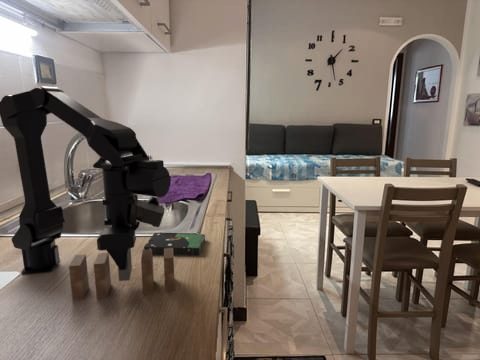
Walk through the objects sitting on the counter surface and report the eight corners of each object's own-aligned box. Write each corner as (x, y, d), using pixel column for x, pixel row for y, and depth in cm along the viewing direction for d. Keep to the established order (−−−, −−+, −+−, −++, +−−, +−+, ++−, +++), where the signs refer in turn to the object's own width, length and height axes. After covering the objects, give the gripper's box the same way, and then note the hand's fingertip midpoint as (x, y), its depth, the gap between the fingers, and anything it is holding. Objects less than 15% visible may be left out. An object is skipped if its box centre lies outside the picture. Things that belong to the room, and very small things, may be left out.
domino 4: (142, 293, 69) (141, 260, 68) (144, 281, 74) (142, 250, 72) (152, 292, 70) (151, 259, 68) (153, 280, 75) (152, 249, 73)
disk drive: (144, 257, 87) (200, 257, 87) (143, 246, 87) (200, 247, 87) (154, 241, 97) (205, 241, 97) (154, 232, 97) (205, 232, 97)
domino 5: (165, 291, 70) (163, 258, 69) (165, 279, 75) (163, 248, 73) (174, 290, 71) (173, 257, 69) (174, 278, 75) (173, 247, 74)
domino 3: (119, 281, 68) (116, 246, 66) (122, 269, 73) (120, 236, 71) (129, 280, 68) (127, 245, 67) (131, 268, 73) (129, 236, 71)
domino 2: (96, 298, 68) (93, 264, 66) (101, 285, 72) (98, 253, 71) (107, 297, 68) (104, 263, 66) (111, 284, 73) (108, 252, 71)
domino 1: (72, 300, 67) (68, 266, 65) (78, 287, 71) (75, 255, 70) (83, 299, 67) (79, 265, 65) (88, 286, 72) (85, 254, 70)
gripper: (160, 202, 59) (163, 282, 63) (162, 179, 77) (164, 242, 80) (93, 205, 57) (100, 288, 60) (110, 181, 75) (115, 246, 78)
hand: (124, 263), depth 70 cm, fingers closed on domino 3, 5 cm apart
